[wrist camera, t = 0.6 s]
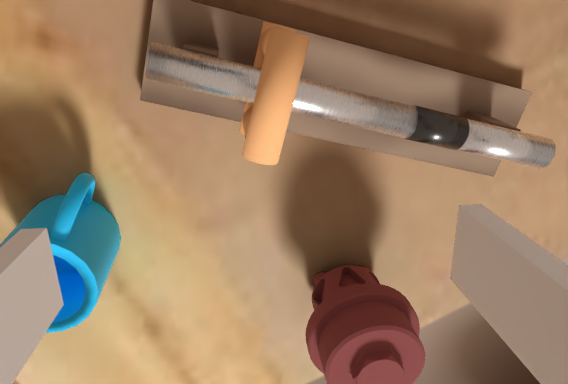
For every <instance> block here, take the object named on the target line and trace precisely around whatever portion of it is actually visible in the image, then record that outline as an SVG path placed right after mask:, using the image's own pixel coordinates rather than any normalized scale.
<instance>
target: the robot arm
mask: <svg viewBox="0 0 568 384" xmlns="http://www.w3.org/2000/svg"><path fill="white" fill-rule="evenodd" d="M450 279H451V280H452V281H453V282H454V283H455V284H456V286H457V287H458V288H459V289H460V290H461V291H462V293H463V294H464V295H465V296H466V297H467V298H468V300H469V301H470V302H471V303H472V304H473V305H474V307H475V308H476V309H477V310H478V311H479V312H480V314H481V315H482V316H483V317H484V318H485V319H486V321H487V322H488V323H489V324H490V325H491V326H492V327H493V329H494V330H495V331H496V332H497V333H498V335H499V336H500V337H501V338H502V339H503V340H504V341H505V343H506V344H507V345H508V346H509V347H510V348H511V350H512V351H513V352H514V353H515V354H516V355H517V357H518V358H519V359H520V360H521V361H522V362H523V364H524V365H525V366H526V367H527V368H528V369H529V371H530V372H531V373H532V374H533V375H534V376H535V378H536V379H537V380H538V381H539V382H540V383H541V384H568V265H567V264H565V263H564V262H563V261H561V260H560V259H558V258H557V257H556V256H554V255H553V254H551V253H550V252H548V251H547V250H546V249H544V248H543V247H541V246H540V245H539V244H537V243H536V242H534V241H533V240H531V239H530V238H529V237H527V236H526V235H524V234H523V233H522V232H520V231H519V230H517V229H516V228H514V227H513V226H512V225H510V224H509V223H507V222H506V221H505V220H503V219H502V218H500V217H499V216H497V215H496V214H495V213H493V212H492V211H490V210H489V209H488V208H486V207H485V206H483V205H482V204H473V205H459V210H458V218H457V226H456V234H455V243H454V251H453V259H452V268H451V276H450ZM63 305H64V304H63V299H62V294H61V290H60V285H59V281H58V276H57V272H56V267H55V263H54V258H53V253H52V249H51V244H50V240H49V235H48V231H47V228H34V229H21V230H19V231H18V232H17V233H16V234H15V235H14V236H13V237H12V238H10V239H9V240H8V241H7V242H6V243H5V244H4V245H3V246H2V247H0V384H12V383H13V382H14V380H15V379H16V377H17V376H18V374H19V373H20V371H21V369H22V368H23V366H24V365H25V363H26V362H27V360H28V359H29V357H30V356H31V354H32V353H33V351H34V350H35V348H36V346H37V345H38V343H39V342H40V340H41V339H42V337H43V336H44V334H45V333H46V331H47V330H48V328H49V327H50V325H51V323H52V322H53V320H54V319H55V317H56V316H57V314H58V313H59V311H60V310H61V308H62V307H63Z"/></svg>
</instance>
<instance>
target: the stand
mask: <svg viewBox="0 0 568 384" xmlns="http://www.w3.org/2000/svg"><path fill="white" fill-rule="evenodd" d="M263 21H264V22H269V21H266V20H262V19H258V18H254V17H251V16H247V15H243V14H239V13H236V12H232V11H228V10H225V9H221V8H217V7H213V6H210V5H206V4H202V3H198V2H195V1H191V0H153V7H152V14H151V22H150V29H149V37H148V44H147V52H146V59H145V67H144V75H143V82H142V90H141V97H140V100H141V101H146V102H151V103H155V104H160V105H165V106H169V107H174V108H178V109H183V110H188V111H192V112H197V113H202V114H206V115H211V116H215V117H220V118H225V119H229V120H234V121H239V122H241V121H242V116H243V112H244V107H245V103H246V102H242V101H238V100H233V99H229V98H224V97H220V96H216V95H211V94H207V93H202V92H198V91H194V90H189V89H185V88H180V87H176V86H171V85H167V84H163V83H158V82H154V81H149V80H146V65H147V58H148V53H149V49H150V45H151V43H152V42H155V43H159V44H163V45H167V46H171V47H176V48H180V49H184V50H188V51H192V52H196V53H200V54H204V55H208V56H212V57H216V58H221V59H225V60H229V61H233V62H237V63H241V64H245V65H249V66H253V67H254V62H255V57H256V53H257V48H258V44H259V39H260V35H261V30H262V26H263ZM269 23H273V22H269ZM273 24H276V25H280V26H284V25H281V24H277V23H273ZM284 27H287V28H291V29H294V30H297V31H296V33H300V34H303V35H306V36H309V37H311V38H310V42H309V46H308V50H307V53H306V57H305V61H304V65H303V69H302V72H301V76H300V78H303V79H307V80H311V81H315V82H319V83H323V84H327V85H331V86H335V87H339V88H343V89H348V90H352V91H356V92H360V93H364V94H368V95H372V96H376V97H380V98H384V99H389V100H393V101H397V102H401V103H405V104H409V105H416V106H420V107H424V108H428V109H433V110H437V111H441V112H445V113H449V114H453V115H457V116H461V117H465V118H466V119H470V120H475V121H479V122H483V123H487V124H491V125H495V126H499V127H503V128H507V129H511V130H516V131H520V129H518V128H516V127H517V125H518V122H519V120H520V118H521V116H522V114H523V111H524V109H525V107H526V105H527V103H528V101H529V98H530V96H531V94H532V92H529V91H526V90H523V89H519V88H516V87H512V86H508V85H504V84H501V83H497V82H493V81H490V80H486V79H482V78H478V77H475V76H471V75H467V74H463V73H460V72H456V71H452V70H448V69H445V68H441V67H437V66H434V65H430V64H426V63H422V62H419V61H415V60H411V59H407V58H404V57H400V56H396V55H392V54H389V53H385V52H381V51H378V50H374V49H370V48H366V47H363V46H359V45H355V44H351V43H348V42H344V41H340V40H336V39H333V38H329V37H325V36H322V35H318V34H314V33H310V32H307V31H303V30H299V29H295V28H292V27H288V26H284ZM286 132H290V133H294V134H299V135H303V136H308V137H313V138H317V139H322V140H327V141H331V142H336V143H340V144H345V145H350V146H354V147H359V148H364V149H368V150H373V151H378V152H382V153H387V154H391V155H396V156H401V157H405V158H410V159H415V160H419V161H424V162H428V163H433V164H438V165H442V166H447V167H452V168H456V169H461V170H466V171H470V172H475V173H479V174H484V175H489V176H493V177H494V175H495V173H496V170H497V168H498V166H499V164H500V162H501V160H499V159H494V158H490V157H486V156H481V155H477V154H472V153H468V152H463V151H459V150H452V149H447V148H443V147H438V146H434V145H429V144H425V143H421V142H416V141H412V140H407V139H404V138H402V137H397V136H393V135H388V134H384V133H379V132H375V131H371V130H366V129H362V128H357V127H353V126H348V125H344V124H340V123H335V122H331V121H326V120H322V119H317V118H313V117H309V116H304V115H300V114H295V113H291V115H290V118H289V122H288V126H287V130H286Z"/></svg>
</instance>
